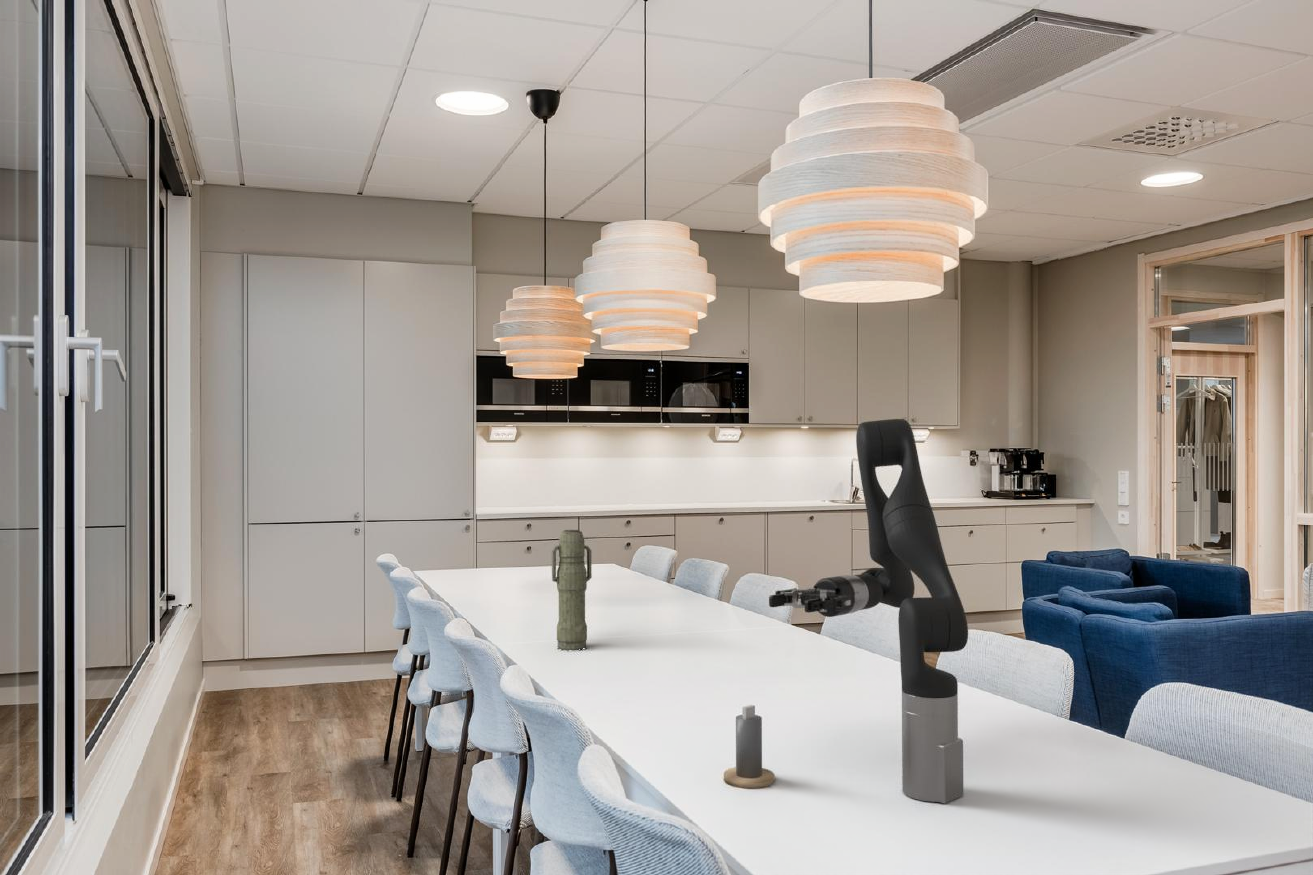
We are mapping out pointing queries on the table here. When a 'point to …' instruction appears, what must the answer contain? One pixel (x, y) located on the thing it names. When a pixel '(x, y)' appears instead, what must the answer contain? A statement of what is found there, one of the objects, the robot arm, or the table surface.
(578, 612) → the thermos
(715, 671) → the table surface
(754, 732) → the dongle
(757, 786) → the coaster
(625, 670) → the table surface
